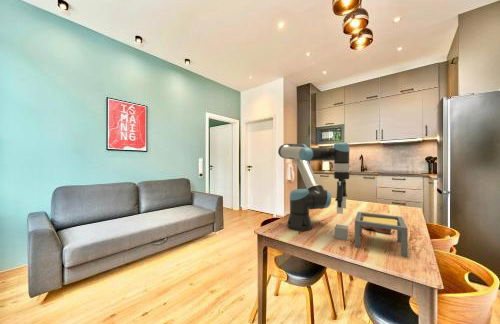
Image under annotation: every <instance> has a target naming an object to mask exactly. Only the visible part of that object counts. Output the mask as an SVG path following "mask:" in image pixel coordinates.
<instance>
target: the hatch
mask: <svg viewBox="0 0 500 324" xmlns="http://www.w3.org/2000/svg"><path fill="white" fill-rule="evenodd" d="M363 221H367V222H375V223H382V224H389V225H396V226H397V220H395V219H386V218H375V217H365V216H364V217H363ZM363 226H365V225H363ZM363 226H362V227H363Z"/></svg>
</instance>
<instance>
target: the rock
mask: <svg viewBox="0 0 500 324" xmlns="http://www.w3.org/2000/svg"><path fill="white" fill-rule="evenodd" d="M363 217H364V216H362V221H363ZM365 217H368V216H365ZM375 218H376V217H375ZM362 228H363V229H370V230H371V231H375V232H376V233H381V234H382V233H387V234H388V233H389V234H390V233H391V232H392V229H385V228H379V227H372V226H363V225H362Z"/></svg>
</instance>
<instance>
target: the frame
mask: <svg viewBox="0 0 500 324" xmlns="http://www.w3.org/2000/svg"><path fill="white" fill-rule="evenodd" d="M362 216H368V217H376V218H386V219H395V220H396V223H397V226H396V225H389V224H382V223H375V222H367V221H362ZM362 225H365V226H372V227H379V228H385V229H392V230H393V231H397V232H396V238H397V240H396V241H397V242H398V243H400V255H401V257H405V258H409V257H408V248H409V247H408V240H409V239H408V236H409V235H408V234H409V233H408V231H409V229H408V227H407V224H406V222H405V220H404V217H403V216H398V215H395V216H394V215H390V214H388V215H387V214H381V213H373V212H362V211H357V212H356V216H355V218H354V247H356V248H359V249H360V248H361V247H360V246H361V236H362V235H363V226H362ZM392 230H391V231H392Z"/></svg>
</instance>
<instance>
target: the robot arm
mask: <svg viewBox="0 0 500 324" xmlns="http://www.w3.org/2000/svg"><path fill="white" fill-rule="evenodd" d="M277 151H278V152H277V154H278V156H279V157H281V158H282V159H285V160H287V159H288V160H292V161H293V163H294V164H296V165H297V168H298V170H299V172H300V176H301V178H302V180H303V182H304V185H305V187H306V188H298V189H293V190H291V191H290V193H289V216H288V219H287V223H286V224H287V225H286V226H287V228H289V229H291V230H294V231H299V232H301V231H302V232H303V231H309V230H312V229H313V223H312V221H311V216H310V210H323V209H327V208H329V207H330V205H331V203H332V195H331V193H330V191H329V190H327V189H324V186H323V185H321V184H320V183H319V181H318V180H317V179H318V178H317V177H316V175H315V172H314V171H313V168H312V166H311V164H310V162H315V161H317V162H319V161H320V162H321V161H323V162H329V161H333V170H334V172H333V178H334V179H335V180H338V181H336V197H335V199H334V200H335V201H336V213H337V214H338V215H339V214H340V215H343V213H344V209H347V197H348V194H347V182H346V181H347V180H349V179H350V168H351V165H350V144H349V142H336V143H334V144H333V147H308V146H307V145H306V144H305V143H284V144H282V145H280V146H279V148H278V150H277ZM309 161H310V162H309Z"/></svg>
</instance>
